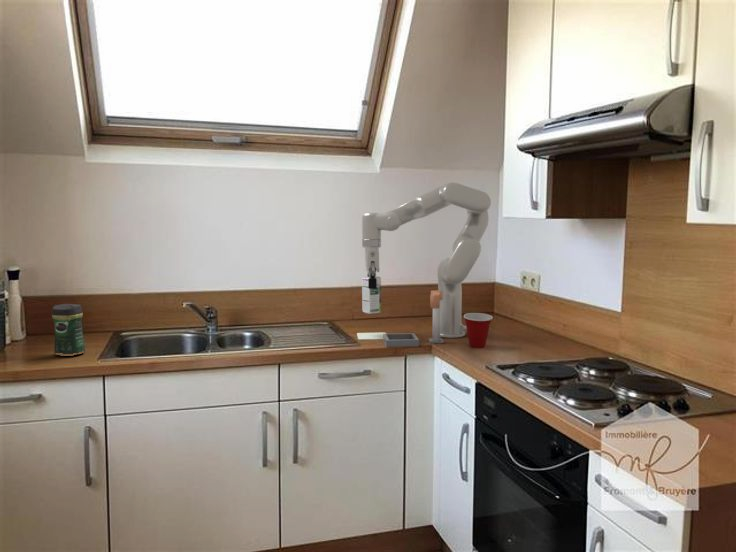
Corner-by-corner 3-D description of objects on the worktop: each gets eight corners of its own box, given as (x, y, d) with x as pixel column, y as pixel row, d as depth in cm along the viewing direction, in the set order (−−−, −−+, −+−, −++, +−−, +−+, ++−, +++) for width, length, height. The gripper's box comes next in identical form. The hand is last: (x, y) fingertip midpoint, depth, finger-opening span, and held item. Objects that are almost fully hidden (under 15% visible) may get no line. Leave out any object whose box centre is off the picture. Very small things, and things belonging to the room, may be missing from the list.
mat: (385, 333, 245) (385, 332, 245) (388, 339, 234) (388, 338, 234) (356, 333, 245) (356, 333, 245) (358, 340, 233) (358, 339, 233)
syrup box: (369, 314, 234) (369, 278, 232) (361, 311, 239) (361, 276, 237) (381, 312, 237) (381, 277, 235) (373, 310, 242) (373, 275, 240)
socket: (439, 338, 234) (439, 298, 232) (445, 345, 222) (446, 302, 220) (383, 340, 233) (383, 299, 231) (386, 347, 220) (386, 304, 219)
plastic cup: (470, 351, 213) (471, 318, 212) (458, 344, 224) (458, 313, 222) (497, 348, 216) (498, 316, 215) (484, 342, 227) (484, 312, 225)
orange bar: (431, 298, 229) (431, 286, 228) (442, 298, 228) (442, 286, 227) (428, 308, 204) (428, 295, 204) (441, 308, 204) (441, 295, 203)
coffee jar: (89, 352, 214) (86, 302, 212) (74, 358, 207) (71, 306, 205) (65, 351, 216) (62, 302, 214) (50, 357, 208) (47, 305, 206)
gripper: (383, 244, 227) (383, 290, 229) (378, 242, 244) (378, 284, 246) (363, 244, 226) (363, 290, 228) (361, 242, 243) (361, 284, 245)
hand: (371, 287), depth 237 cm, fingers closed on syrup box, 7 cm apart
